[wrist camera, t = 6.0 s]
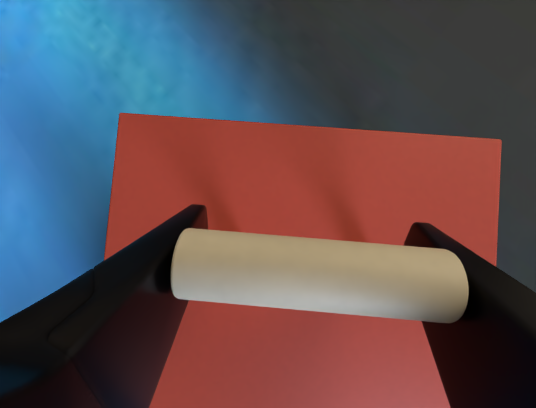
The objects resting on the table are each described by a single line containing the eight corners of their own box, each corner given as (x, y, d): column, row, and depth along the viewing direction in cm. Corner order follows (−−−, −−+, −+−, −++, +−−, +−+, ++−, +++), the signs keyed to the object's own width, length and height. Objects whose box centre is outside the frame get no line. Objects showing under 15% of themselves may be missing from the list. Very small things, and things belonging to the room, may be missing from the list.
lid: (127, 117, 13) (-23, 17, 6) (489, 143, 12) (723, 61, 6) (95, 426, 12) (-108, 659, 6) (474, 467, 11) (718, 772, 5)
